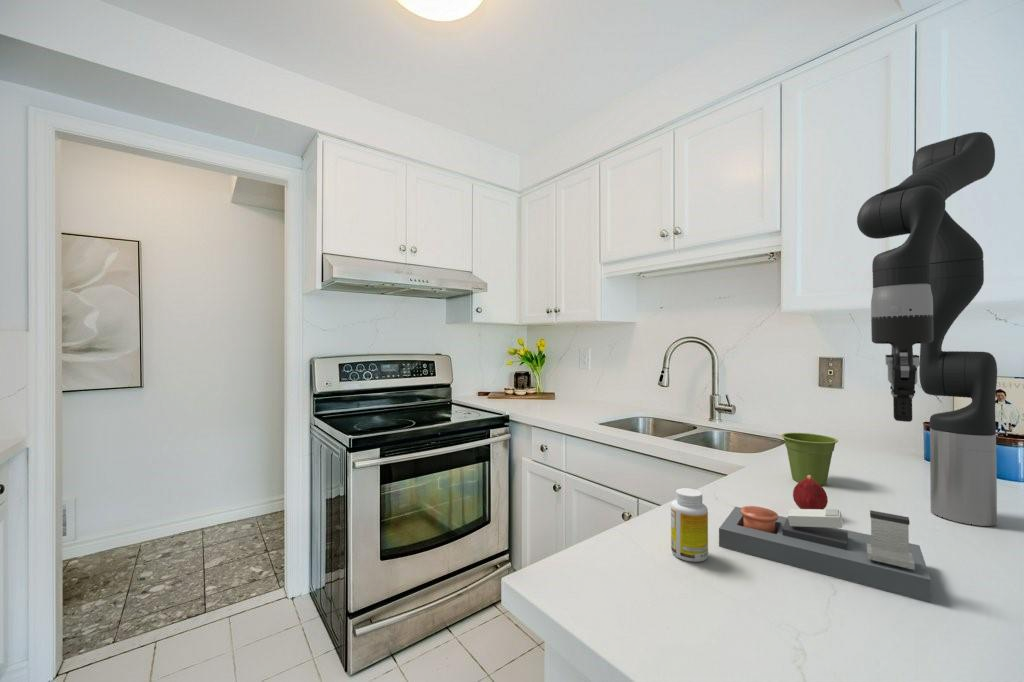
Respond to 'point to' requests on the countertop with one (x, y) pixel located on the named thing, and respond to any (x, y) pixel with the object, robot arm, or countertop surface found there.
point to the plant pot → (809, 455)
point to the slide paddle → (890, 540)
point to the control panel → (827, 554)
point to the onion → (810, 494)
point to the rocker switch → (815, 518)
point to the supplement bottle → (689, 526)
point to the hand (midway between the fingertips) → (902, 420)
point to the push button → (759, 518)
